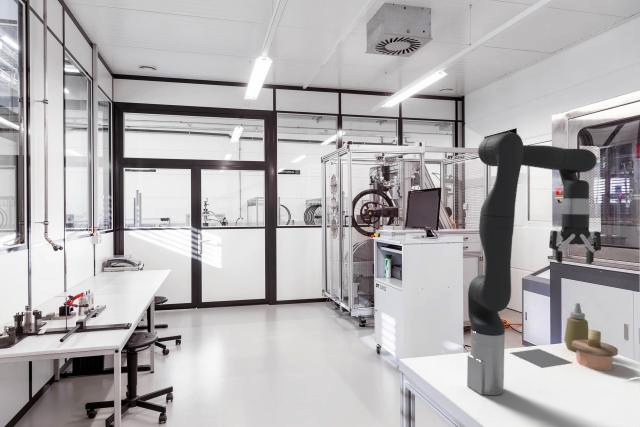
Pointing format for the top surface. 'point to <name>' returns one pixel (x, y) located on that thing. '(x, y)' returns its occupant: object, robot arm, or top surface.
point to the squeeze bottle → (576, 327)
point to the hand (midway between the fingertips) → (574, 263)
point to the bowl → (594, 361)
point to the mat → (541, 358)
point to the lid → (595, 345)
